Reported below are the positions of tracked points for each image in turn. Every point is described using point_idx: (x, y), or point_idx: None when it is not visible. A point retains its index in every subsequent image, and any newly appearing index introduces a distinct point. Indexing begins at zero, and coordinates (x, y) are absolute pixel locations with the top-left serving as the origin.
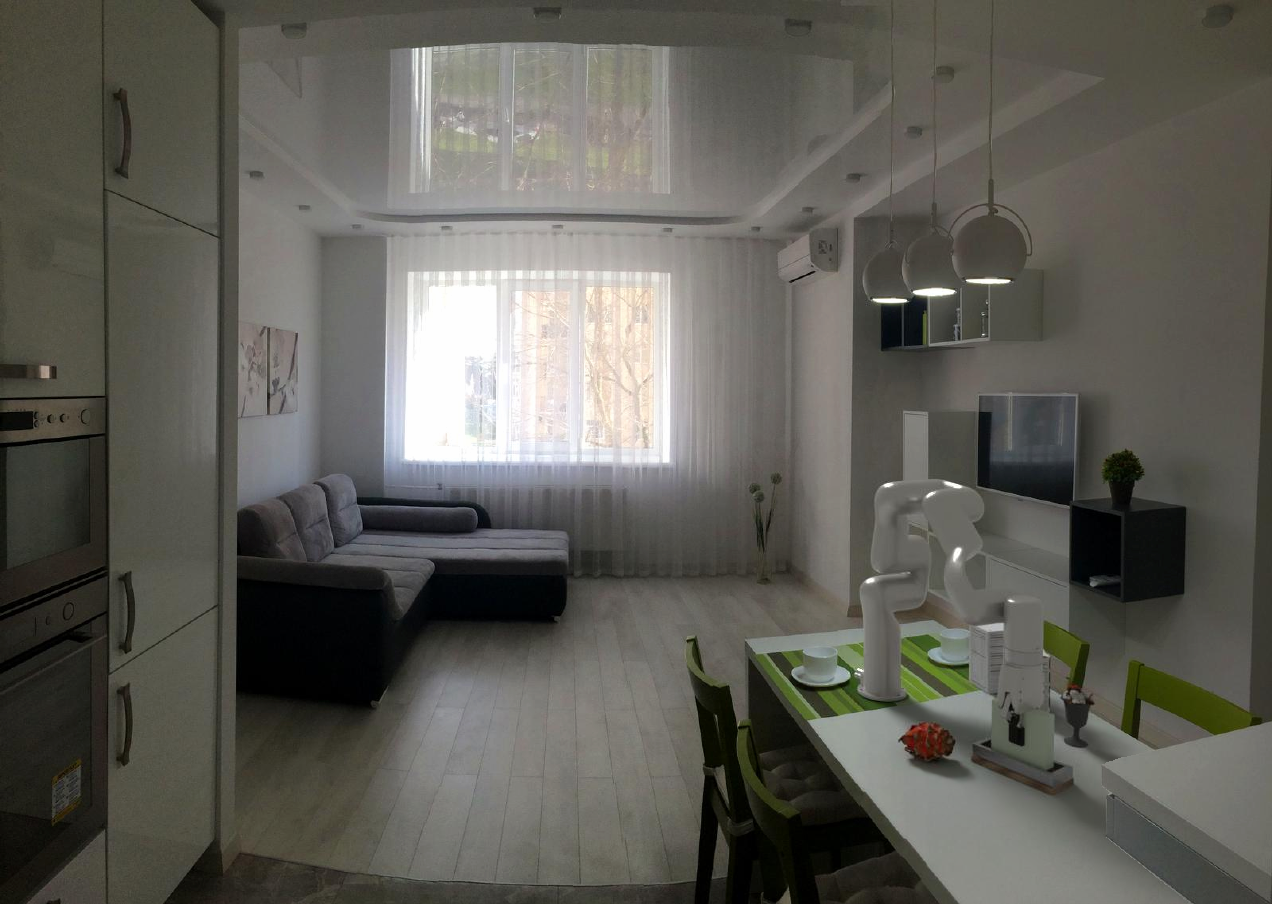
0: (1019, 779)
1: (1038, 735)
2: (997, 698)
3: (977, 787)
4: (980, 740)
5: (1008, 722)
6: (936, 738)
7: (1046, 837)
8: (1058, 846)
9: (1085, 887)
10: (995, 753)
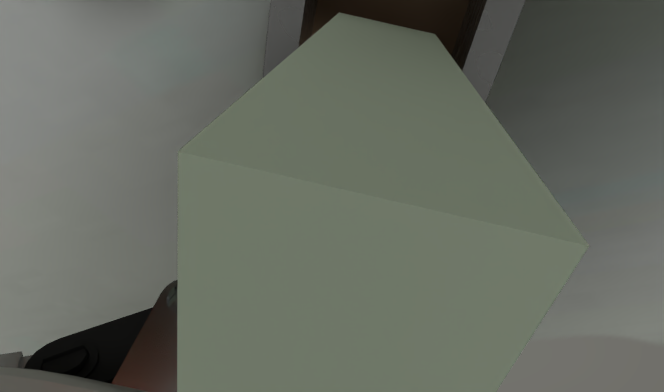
0: None
1: None
2: (376, 233)
3: (62, 62)
4: None
5: (139, 313)
6: None
7: (11, 319)
8: (5, 344)
9: None
10: (263, 76)
